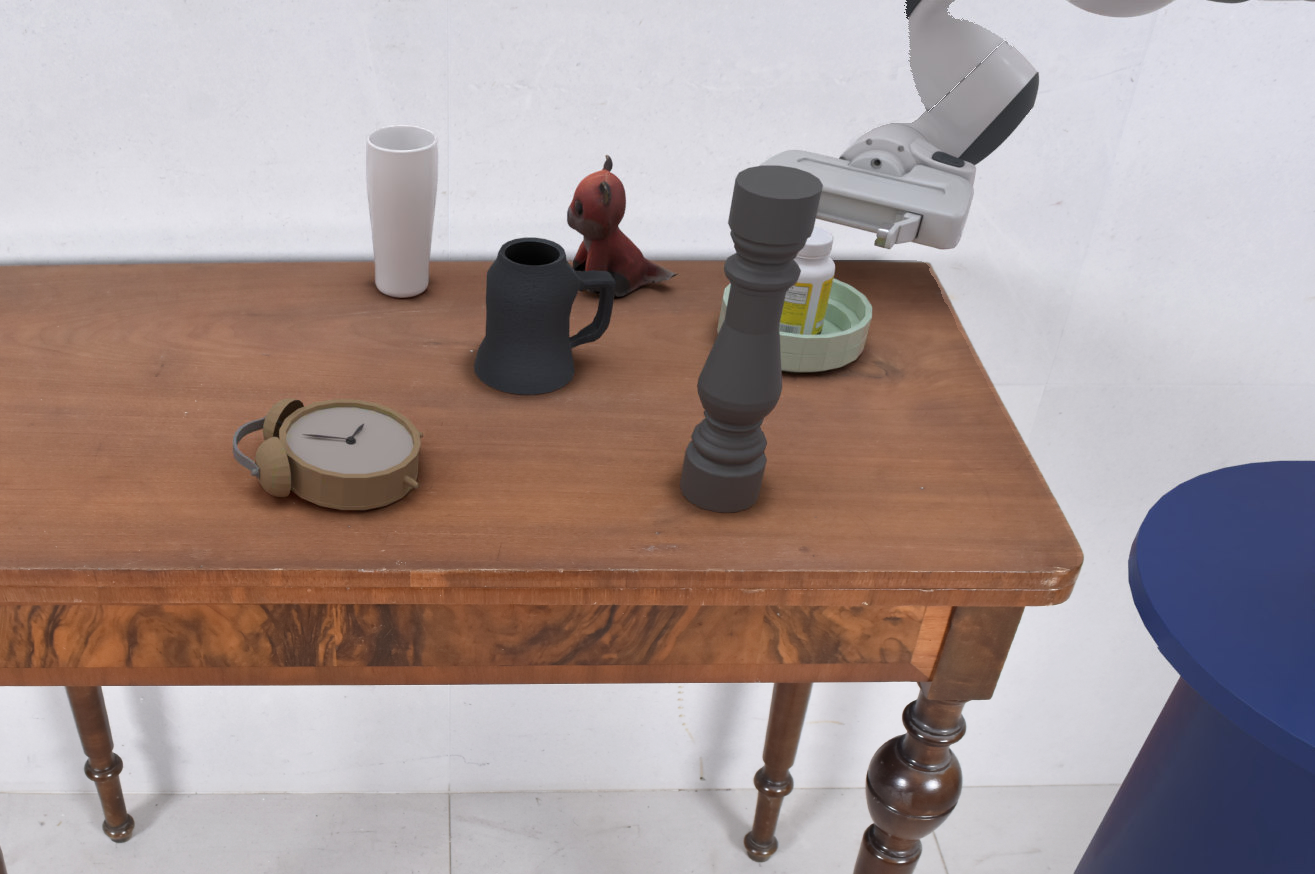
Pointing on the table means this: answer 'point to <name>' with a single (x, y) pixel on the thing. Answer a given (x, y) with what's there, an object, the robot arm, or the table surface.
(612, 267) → the stuffed fox
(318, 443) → the alarm clock
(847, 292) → the bowl
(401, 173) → the drinking glass
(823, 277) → the supplement bottle
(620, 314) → the table surface
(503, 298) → the mug
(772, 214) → the candle holder
